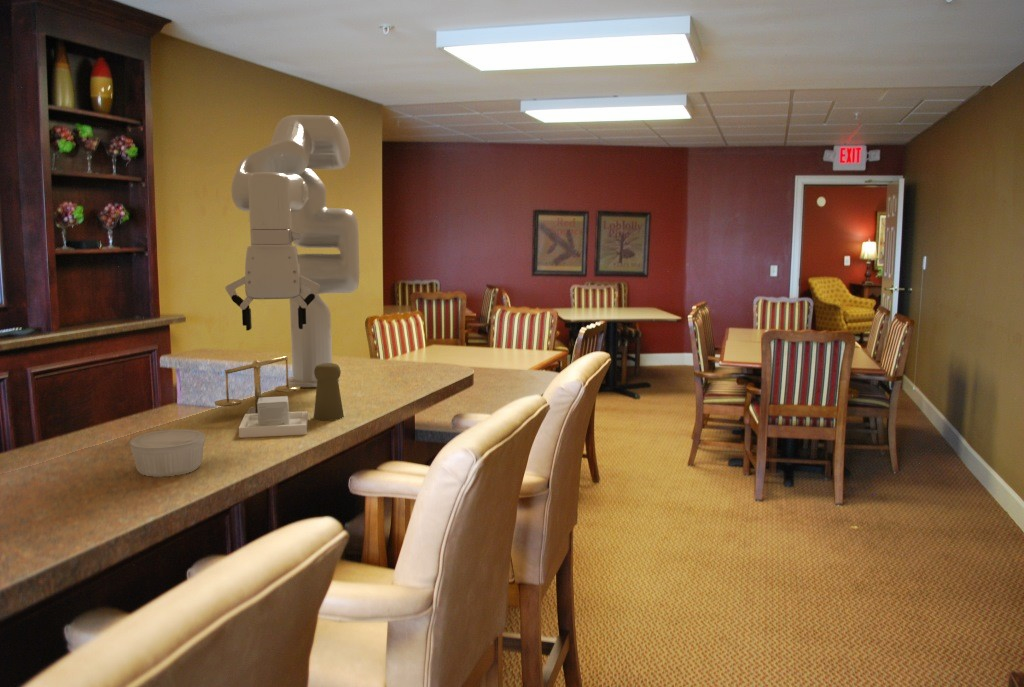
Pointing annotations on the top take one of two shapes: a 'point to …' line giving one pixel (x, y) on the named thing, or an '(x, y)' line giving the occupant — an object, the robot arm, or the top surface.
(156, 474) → the ramekin
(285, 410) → the small box
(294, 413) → the dish
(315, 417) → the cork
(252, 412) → the balance
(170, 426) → the top surface
